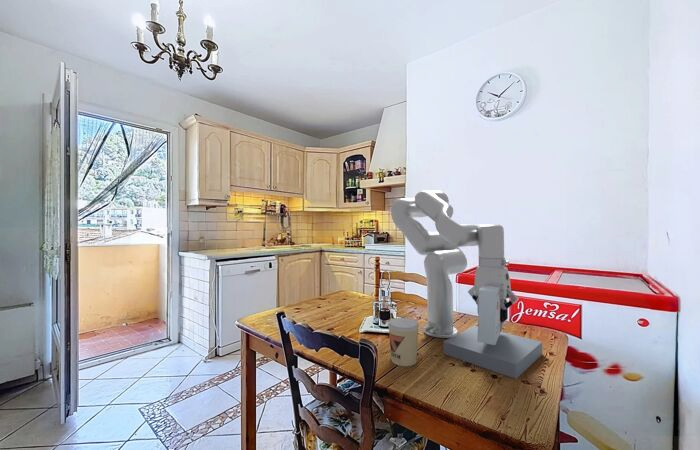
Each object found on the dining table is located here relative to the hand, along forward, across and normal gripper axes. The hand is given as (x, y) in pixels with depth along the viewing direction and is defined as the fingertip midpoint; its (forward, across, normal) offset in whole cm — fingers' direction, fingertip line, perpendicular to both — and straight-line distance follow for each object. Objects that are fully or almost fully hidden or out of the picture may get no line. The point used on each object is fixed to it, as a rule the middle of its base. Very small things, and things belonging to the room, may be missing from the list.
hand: (492, 318), depth 98 cm
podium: (+12, 0, 0) cm, 12 cm away
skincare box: (+5, 0, 0) cm, 5 cm away
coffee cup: (+12, +17, +24) cm, 32 cm away
